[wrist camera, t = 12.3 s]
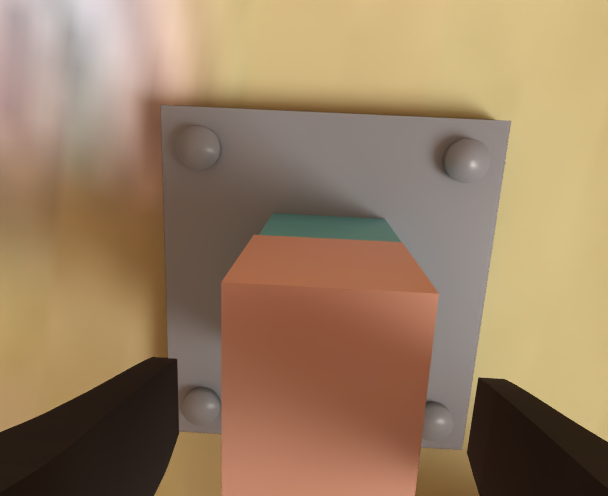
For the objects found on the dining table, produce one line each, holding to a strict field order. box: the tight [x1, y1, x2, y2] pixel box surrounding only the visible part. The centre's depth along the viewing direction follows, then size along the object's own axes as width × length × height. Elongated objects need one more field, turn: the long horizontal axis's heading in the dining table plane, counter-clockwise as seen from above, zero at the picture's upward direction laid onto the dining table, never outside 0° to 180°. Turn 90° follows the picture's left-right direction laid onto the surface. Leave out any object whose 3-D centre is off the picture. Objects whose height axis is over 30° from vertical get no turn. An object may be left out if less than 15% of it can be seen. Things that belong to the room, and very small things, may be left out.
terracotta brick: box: [221, 235, 439, 496], centre depth 12 cm, size 6×4×4 cm
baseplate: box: [161, 105, 511, 450], centre depth 19 cm, size 14×13×2 cm
